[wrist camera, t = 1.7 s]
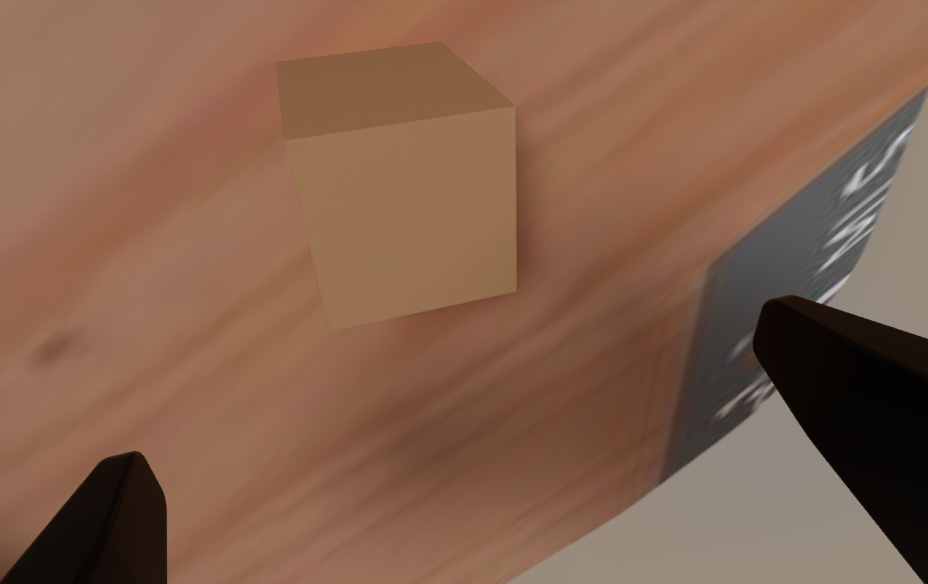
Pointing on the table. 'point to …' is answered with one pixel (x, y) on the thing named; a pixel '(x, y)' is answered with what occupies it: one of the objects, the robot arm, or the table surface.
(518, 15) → the table surface
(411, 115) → the tan block
